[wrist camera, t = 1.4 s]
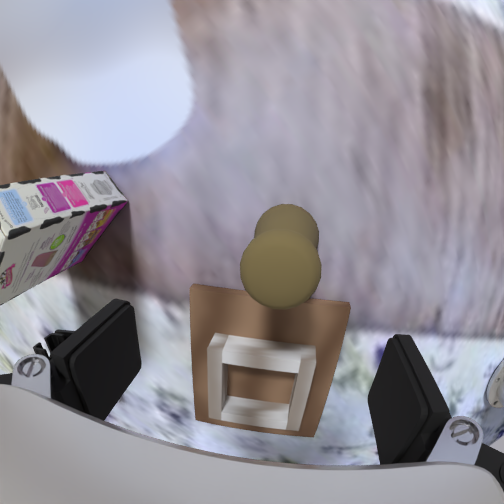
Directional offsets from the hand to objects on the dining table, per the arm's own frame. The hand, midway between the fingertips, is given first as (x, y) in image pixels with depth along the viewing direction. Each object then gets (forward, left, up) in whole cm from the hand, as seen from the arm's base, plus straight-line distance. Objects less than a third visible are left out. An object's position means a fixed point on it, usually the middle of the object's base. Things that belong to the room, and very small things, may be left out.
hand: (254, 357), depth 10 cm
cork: (0, 0, -19) cm, 19 cm away
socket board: (+1, +16, -19) cm, 25 cm away
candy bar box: (+22, 0, -19) cm, 29 cm away
